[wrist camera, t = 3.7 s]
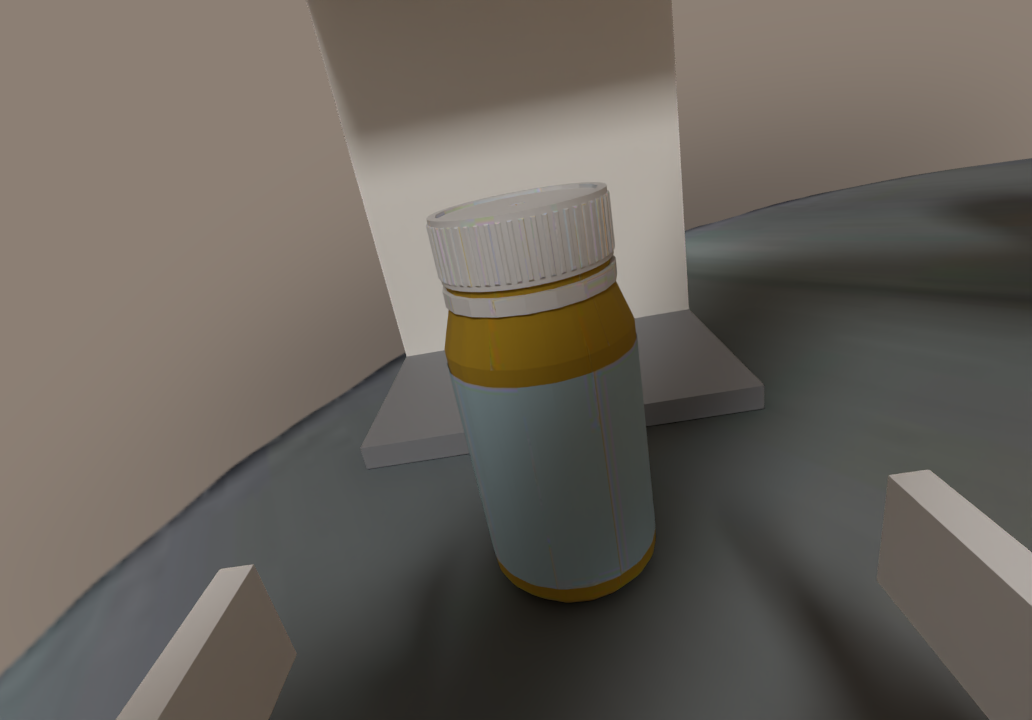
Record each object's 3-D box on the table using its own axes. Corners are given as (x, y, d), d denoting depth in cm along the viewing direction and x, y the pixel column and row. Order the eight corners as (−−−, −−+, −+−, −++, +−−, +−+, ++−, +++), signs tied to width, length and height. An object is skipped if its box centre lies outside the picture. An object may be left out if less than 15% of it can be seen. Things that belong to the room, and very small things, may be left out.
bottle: (693, 548, 22) (668, 175, 16) (560, 647, 19) (474, 228, 13) (585, 478, 28) (540, 182, 22) (470, 545, 25) (382, 222, 19)
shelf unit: (414, 365, 47) (302, -35, 36) (684, 320, 46) (658, -116, 34) (367, 469, 33) (151, -155, 21) (764, 408, 31) (765, -308, 19)
